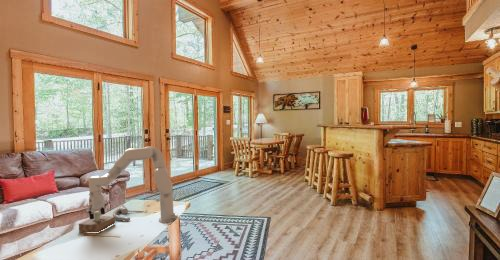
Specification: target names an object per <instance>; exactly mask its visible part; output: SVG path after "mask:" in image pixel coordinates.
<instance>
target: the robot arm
mask: <svg viewBox="0 0 500 260" xmlns="http://www.w3.org/2000/svg"><path fill="white" fill-rule="evenodd" d="M149 159H151V161H152V164H153V167H154V173H153V177H154V182H155V185H156V187H157V191H158V192H159V207H160V209H159V210H160V217H159V219H158V222H160V223H161V224H163V223H164V224H165V223H166V224H167V223H171V222H175V221H176V219H179V215H178V214H177V215H176V214H175V213H176V212H174V194H173V191H174V190H173V181H171V179H170V177H169V170H168V167H167V164H166V160H165V158H164V155H163V153H162V151H161V150H160V149H159V148H158V147H155V146H151V145H150V146H149V145H147V146H145V147H142V148H141V147H139V148H133V147H130V148H127V149H125V150H124V152H123V154H121V156H120V157H119V158H118V159H117V160H115V162H114V165H113V167H111V168H110V169H109V170H108V171H107V172H106V173H105V174H104V175H103V176H100V175H93V176H90V177H88V189H89V194H88V196H89V198H88V206H87V208H85V211H86V213H87V214H88V216H89V219H94V212H95V211H98V210H100V215H105V214H106V211H105V210H106V206H107V201H106V200H105V197H104V194H103V192H102V187H107V186H109V185H111V184H112V183H113V182H114V181H115V180H116V179H117V178H118V177H119V176H120V175H121V174H122V173H123V172H125V170H126V169H127V168H129V166H130V165H131V164H132V162H134V161H135V162H136V161H142V160H143V161H144V160H149Z"/></svg>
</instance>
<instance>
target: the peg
mask: <svg viewBox="0 0 500 260" xmlns="http://www.w3.org/2000/svg"><path fill="white" fill-rule="evenodd" d="M93 213H94V220H95V222H98V221H100V216H101V210H100V211H99V210H95V211H94V212H93Z"/></svg>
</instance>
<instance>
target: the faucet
mask: <svg viewBox="0 0 500 260" xmlns="http://www.w3.org/2000/svg"><path fill="white" fill-rule="evenodd" d="M130 212H131V213H145V214H147V213H148V211H147V210H129V209H128V208H127V207H126V206H125V205H124V204H120V205H118V207H117V208H115V210H114V211H113V212H112V217H115V220H117V221H120V220H125V221H124V222H130V221H131V218H130V217H123V216H120V215H117V214H118V213H121V214H122V215H126V214H128V213H130ZM129 220H130V221H129Z"/></svg>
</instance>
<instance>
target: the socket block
mask: <svg viewBox="0 0 500 260" xmlns="http://www.w3.org/2000/svg"><path fill="white" fill-rule="evenodd" d="M114 223H115V224H116V219H115V217H113V216H108V215H100V221H98V222H95V220H94V219H90V218H88V219H86V220H84V221H82V222H79V223H78V232H79V233H82V234H84V232H99V231H101V230H103V229H105V228H107V227H108V226H110V225H112V224H114Z"/></svg>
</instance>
